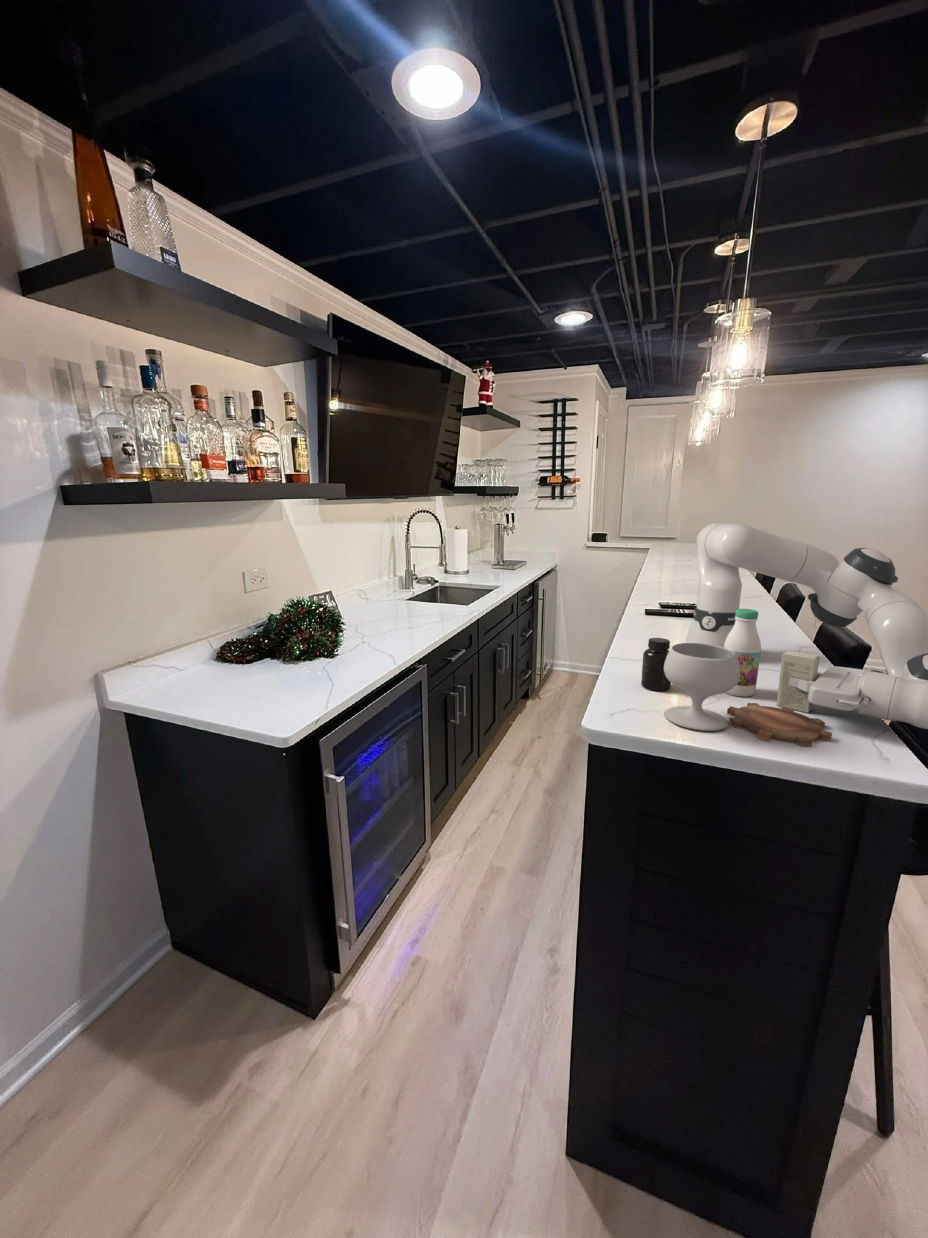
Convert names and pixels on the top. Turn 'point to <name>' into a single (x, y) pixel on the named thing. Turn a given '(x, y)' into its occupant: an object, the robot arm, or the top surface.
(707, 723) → the chalice
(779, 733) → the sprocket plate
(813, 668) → the skincare box
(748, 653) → the milk bottle
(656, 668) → the supplement bottle
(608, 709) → the top surface
